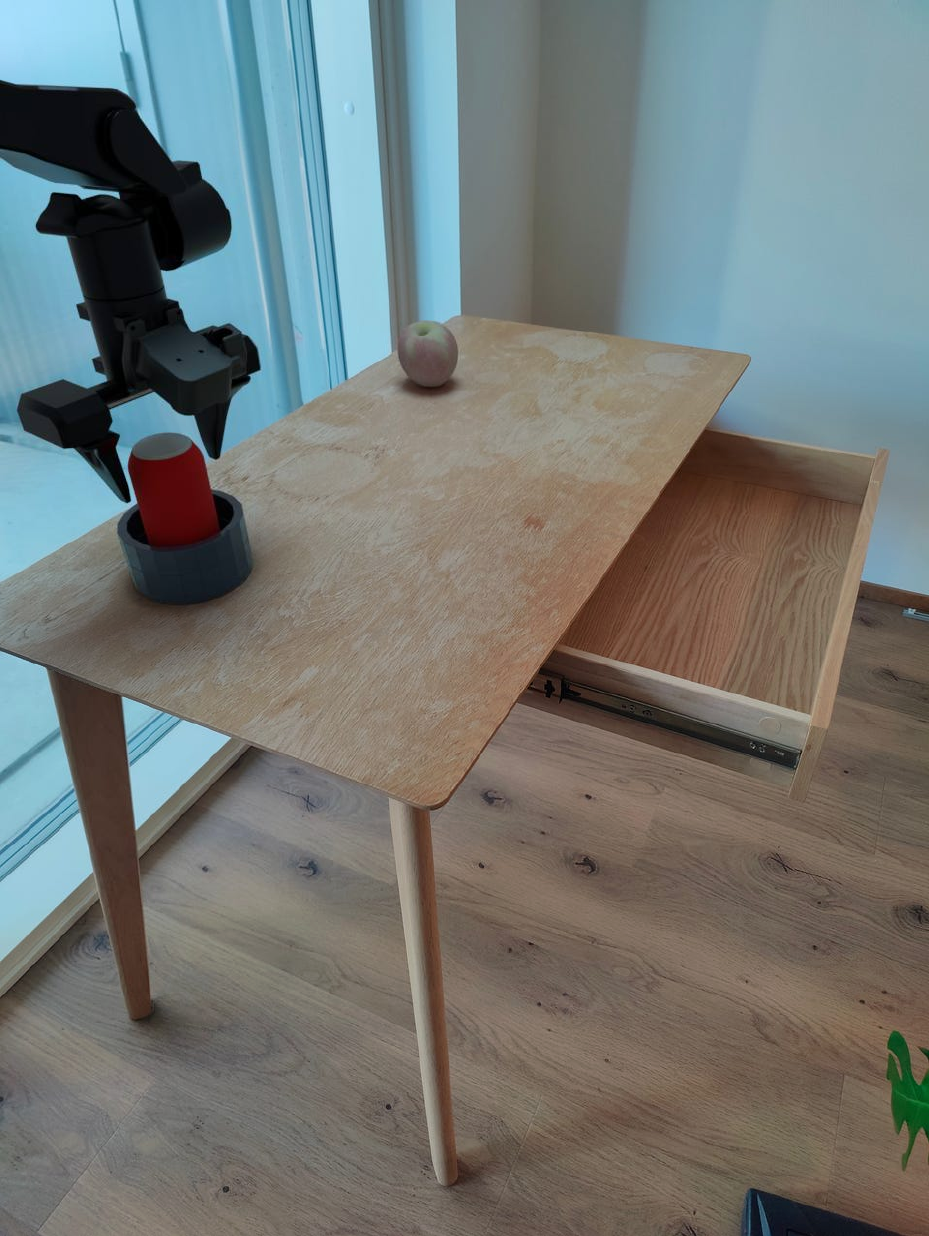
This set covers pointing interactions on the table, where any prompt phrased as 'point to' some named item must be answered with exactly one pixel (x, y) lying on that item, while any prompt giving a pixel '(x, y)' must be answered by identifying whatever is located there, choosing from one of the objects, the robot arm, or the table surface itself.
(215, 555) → the pot
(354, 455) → the table surface
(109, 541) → the table surface
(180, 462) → the beverage can
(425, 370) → the apple
